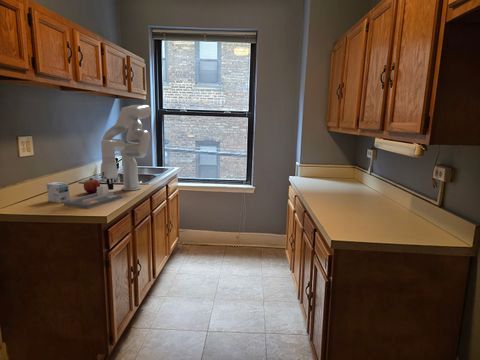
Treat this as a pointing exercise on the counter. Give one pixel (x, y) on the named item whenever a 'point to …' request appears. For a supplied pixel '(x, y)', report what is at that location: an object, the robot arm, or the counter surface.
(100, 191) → the switch tab
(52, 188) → the light bulb box
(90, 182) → the fruit
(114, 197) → the switch board
